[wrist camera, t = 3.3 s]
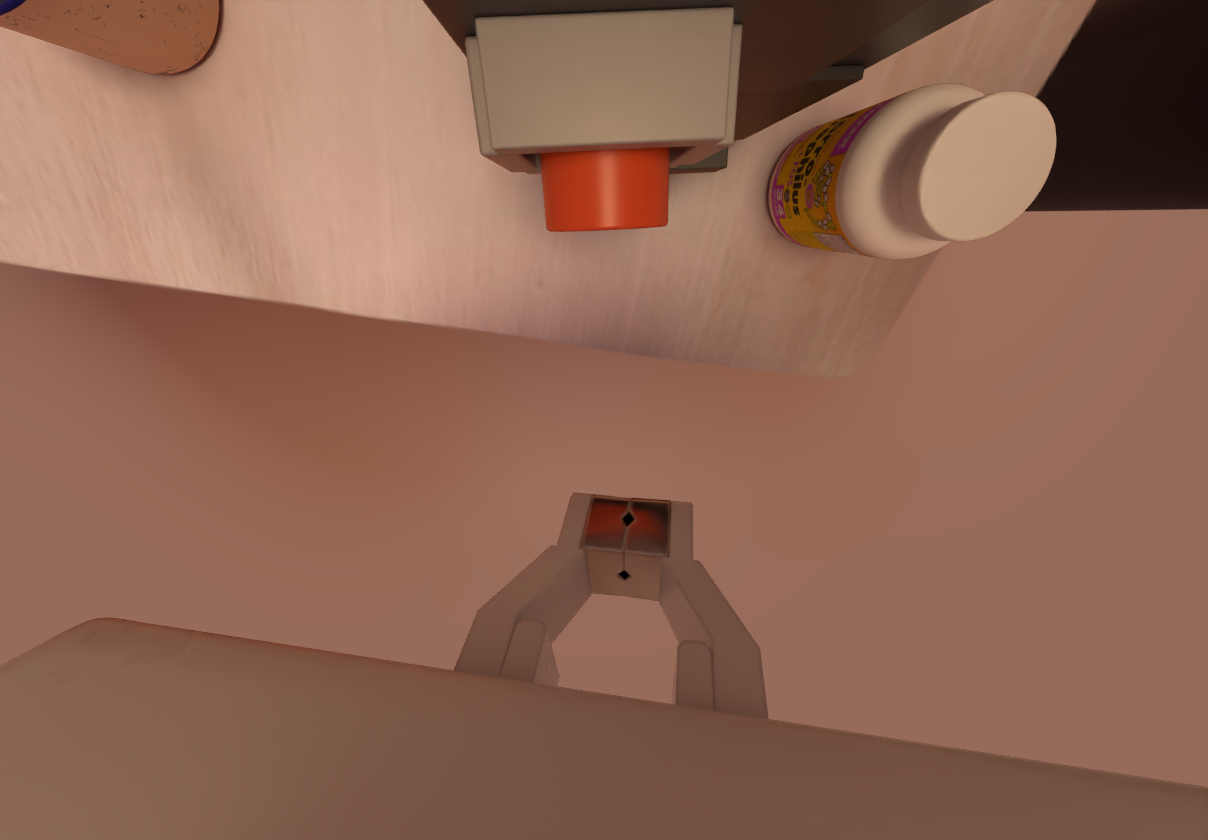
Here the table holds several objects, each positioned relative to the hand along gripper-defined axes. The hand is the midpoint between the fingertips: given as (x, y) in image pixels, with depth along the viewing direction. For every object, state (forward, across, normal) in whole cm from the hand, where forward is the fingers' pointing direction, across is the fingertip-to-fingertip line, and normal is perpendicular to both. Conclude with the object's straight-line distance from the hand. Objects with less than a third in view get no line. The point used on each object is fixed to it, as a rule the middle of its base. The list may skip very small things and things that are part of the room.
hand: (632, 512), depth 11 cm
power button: (+7, -1, +6) cm, 9 cm away
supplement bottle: (+25, +9, +3) cm, 26 cm away
